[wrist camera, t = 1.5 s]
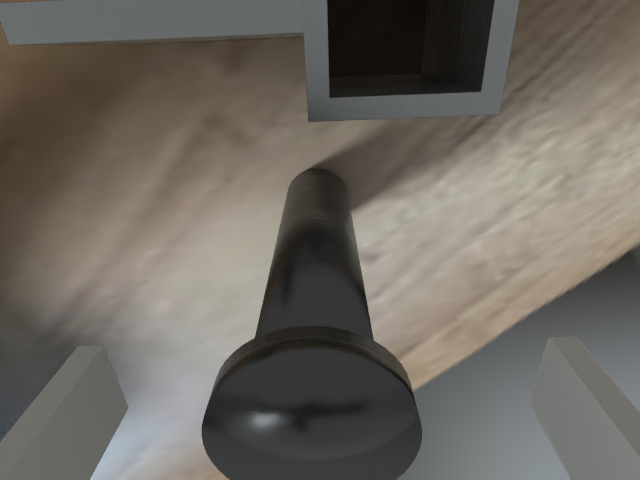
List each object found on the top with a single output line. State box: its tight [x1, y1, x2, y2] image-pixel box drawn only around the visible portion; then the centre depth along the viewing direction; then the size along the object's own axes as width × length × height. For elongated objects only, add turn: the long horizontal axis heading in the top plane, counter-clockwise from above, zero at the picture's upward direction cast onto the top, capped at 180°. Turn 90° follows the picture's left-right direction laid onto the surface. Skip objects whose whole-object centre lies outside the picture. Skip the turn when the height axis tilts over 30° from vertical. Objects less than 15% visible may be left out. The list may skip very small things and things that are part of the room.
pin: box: [202, 169, 422, 480], centre depth 17 cm, size 6×6×17 cm
